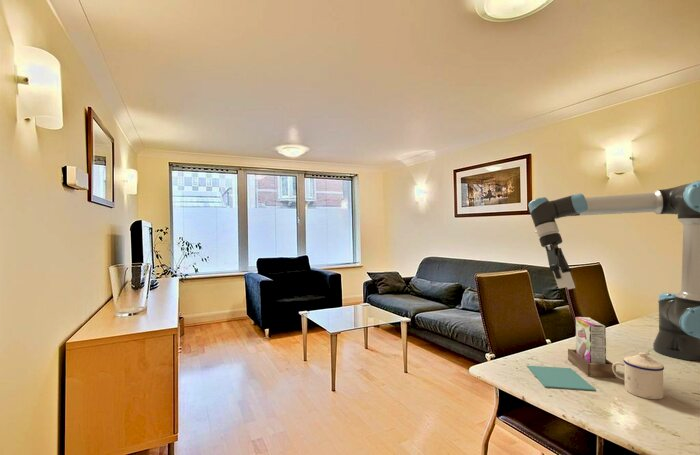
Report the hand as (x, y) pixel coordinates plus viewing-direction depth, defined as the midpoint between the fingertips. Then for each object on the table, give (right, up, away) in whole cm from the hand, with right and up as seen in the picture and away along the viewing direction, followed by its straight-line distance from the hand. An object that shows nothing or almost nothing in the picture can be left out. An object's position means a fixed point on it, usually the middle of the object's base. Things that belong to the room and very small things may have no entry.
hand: (567, 288), depth 129 cm
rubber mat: (-15, -26, -19) cm, 35 cm away
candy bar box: (+1, -26, -11) cm, 28 cm away
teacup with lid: (+3, -26, -28) cm, 38 cm away
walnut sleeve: (+1, -26, -11) cm, 28 cm away
